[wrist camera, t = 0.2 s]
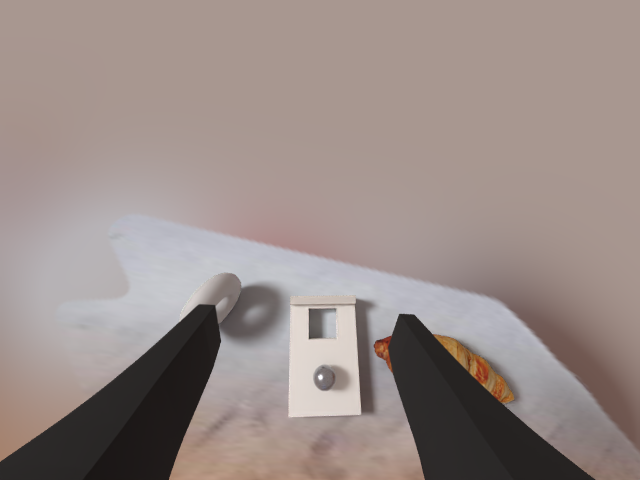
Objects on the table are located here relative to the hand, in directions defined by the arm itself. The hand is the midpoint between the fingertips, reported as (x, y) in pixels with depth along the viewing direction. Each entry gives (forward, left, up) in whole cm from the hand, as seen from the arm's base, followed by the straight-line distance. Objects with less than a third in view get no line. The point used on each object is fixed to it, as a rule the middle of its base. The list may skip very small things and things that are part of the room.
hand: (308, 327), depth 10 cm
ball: (-7, -2, -27) cm, 28 cm away
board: (-4, -2, -31) cm, 31 cm away
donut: (+3, +14, -31) cm, 34 cm away
